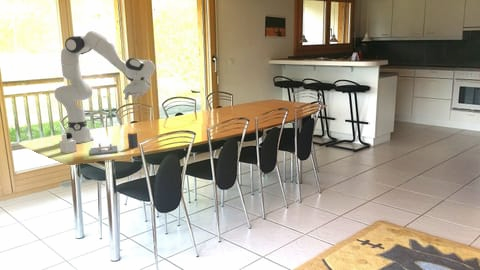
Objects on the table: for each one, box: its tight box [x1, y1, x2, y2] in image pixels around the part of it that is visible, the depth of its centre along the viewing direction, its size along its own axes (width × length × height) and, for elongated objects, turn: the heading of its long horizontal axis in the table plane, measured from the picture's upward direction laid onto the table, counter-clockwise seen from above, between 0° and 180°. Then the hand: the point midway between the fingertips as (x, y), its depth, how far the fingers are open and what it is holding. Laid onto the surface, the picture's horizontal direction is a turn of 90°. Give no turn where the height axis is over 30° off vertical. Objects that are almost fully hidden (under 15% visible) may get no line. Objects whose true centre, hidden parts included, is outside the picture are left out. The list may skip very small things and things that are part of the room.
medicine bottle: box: [58, 132, 78, 155], centre depth 265 cm, size 7×7×12 cm
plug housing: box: [127, 131, 139, 149], centre depth 271 cm, size 4×4×10 cm
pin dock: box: [89, 143, 119, 156], centre depth 265 cm, size 16×16×4 cm
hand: (130, 99), depth 269 cm, fingers open, 8 cm apart
